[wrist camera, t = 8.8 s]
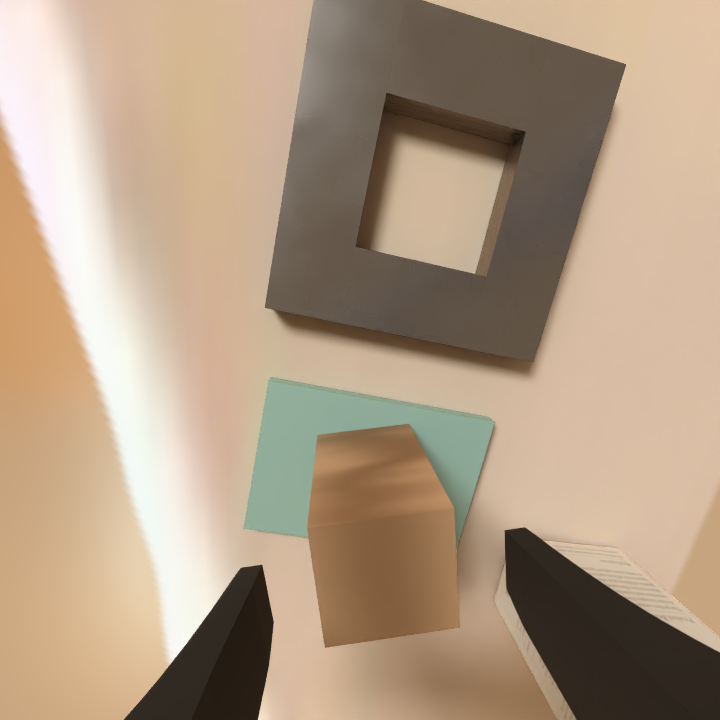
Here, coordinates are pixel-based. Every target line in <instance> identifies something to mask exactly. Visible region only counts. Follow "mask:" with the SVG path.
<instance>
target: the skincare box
mask: <svg viewBox="0 0 720 720" xmlns="http://www.w3.org/2000/svg"><path fill="white" fill-rule="evenodd" d="M543 541H544V542H546V543H547V544H548V545H550V546H551V547H552V548H554V549H555V550H557V551H558V552H559V553H561V554H562V555H563V556H565V557H566V558H568V559H569V560H570V561H572V562H573V563H575V564H576V565H577V566H579V567H580V568H582V569H583V570H584V571H586V572H587V573H589V574H590V575H592V576H593V577H595V578H596V579H597V580H599V581H600V582H602V583H603V584H605V585H606V586H608V587H609V588H611V589H612V590H614V591H615V592H617V593H619V594H620V595H622V596H623V597H625V598H626V599H628V600H630V601H631V602H633V603H634V604H636V605H637V606H639V607H641V608H642V609H644V610H645V611H647V612H649V613H650V614H652V615H654V616H655V617H657V618H659V619H660V620H662V621H664V622H666V623H668V624H669V625H671V626H673V627H675V628H676V629H678V630H680V631H682V632H683V633H685V634H687V635H689V636H691V637H692V638H694V639H696V640H698V641H700V642H701V643H703V644H705V645H707V646H709V647H711V648H713V649H715V650H717V651H718V652H720V637H719V636H718V635H717V634H715V633H714V632H713V631H712V630H711V629H710V628H709V627H708V626H706V625H705V624H704V623H703V622H702V621H701V620H699V619H698V618H697V617H696V616H695V615H694V614H693V613H691V612H690V611H689V610H688V609H687V608H686V607H685V606H683V605H682V604H681V603H680V602H679V601H677V599H675V598H674V597H673V596H672V595H671V594H670V593H669V592H667V591H666V590H665V589H664V588H663V587H662V586H661V585H660V584H658V583H657V582H656V581H655V580H654V579H653V578H652V577H650V576H649V575H648V574H647V573H646V572H645V571H644V570H643V569H641V568H640V567H639V566H638V565H637V564H636V563H635V562H633V561H632V560H631V559H630V558H629V557H628V556H627V555H625V554H624V553H623V552H622V551H621V550H620V549H618V548H615V547H604V546H594V545H584V544H575V543H565V542H556V541H546V540H543ZM494 600H495V605H496V607H497V609H498V611H499V613H500V615H501V616H502V618H503V620H504V622H505V624H506V626H507V628H508V630H509V631H510V633H511V635H512V637H513V639H514V641H515V643H516V645H517V647H518V648H519V650H520V652H521V654H522V656H523V658H524V660H525V661H526V663H527V665H528V667H529V669H530V671H531V672H532V674H533V676H534V678H535V680H536V682H537V684H538V685H539V687H540V689H541V691H542V693H543V695H544V696H545V698H546V700H547V702H548V704H549V706H550V708H551V710H552V711H553V713H554V715H555V717H556V719H557V720H576V718H575V716H574V714H573V713H572V711H571V709H570V708H569V706H568V704H567V702H566V701H565V699H564V697H563V695H562V694H561V692H560V690H559V688H558V687H557V685H556V683H555V681H554V680H553V678H552V676H551V674H550V673H549V671H548V669H547V668H546V666H545V664H544V662H543V661H542V659H541V657H540V655H539V654H538V652H537V650H536V648H535V646H534V645H533V643H532V641H531V639H530V638H529V636H528V634H527V632H526V630H525V629H524V627H523V625H522V623H521V620H520V618H519V616H518V614H517V612H516V610H515V607H514V605H513V603H512V600H511V598H510V596H509V593H508V591H507V589H506V563H505V564H504V567H503V570H502V573H501V577H500V580H499V583H498V587H497V591H496V594H495V599H494Z"/></svg>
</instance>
